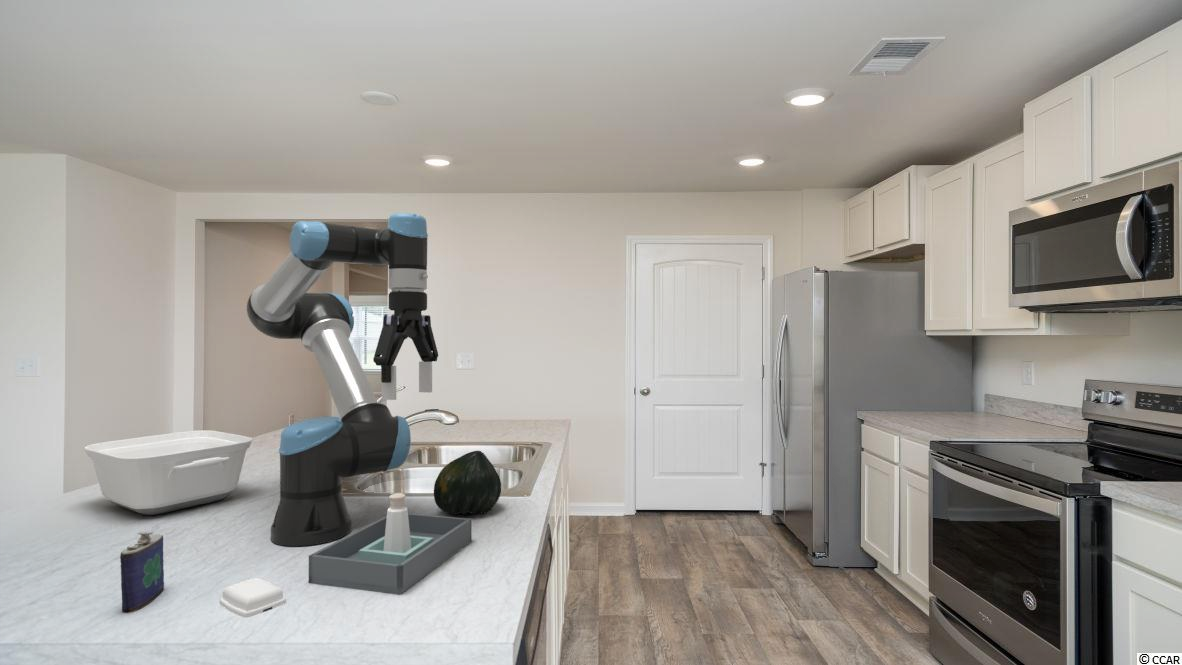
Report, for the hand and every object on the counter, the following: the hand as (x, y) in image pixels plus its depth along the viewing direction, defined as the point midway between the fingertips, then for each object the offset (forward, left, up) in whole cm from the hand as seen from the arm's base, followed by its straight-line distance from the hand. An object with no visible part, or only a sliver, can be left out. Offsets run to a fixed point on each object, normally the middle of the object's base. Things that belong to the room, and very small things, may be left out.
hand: (408, 395), depth 127 cm
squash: (+4, +19, -29) cm, 35 cm away
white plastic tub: (-68, +6, -29) cm, 74 cm away
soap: (-7, -33, -29) cm, 45 cm away
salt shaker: (+5, -12, -28) cm, 31 cm away
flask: (-24, -37, -29) cm, 53 cm away
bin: (+5, -12, -29) cm, 32 cm away
